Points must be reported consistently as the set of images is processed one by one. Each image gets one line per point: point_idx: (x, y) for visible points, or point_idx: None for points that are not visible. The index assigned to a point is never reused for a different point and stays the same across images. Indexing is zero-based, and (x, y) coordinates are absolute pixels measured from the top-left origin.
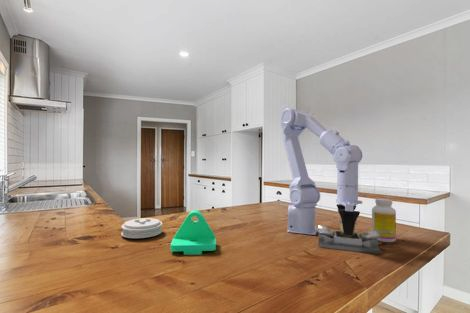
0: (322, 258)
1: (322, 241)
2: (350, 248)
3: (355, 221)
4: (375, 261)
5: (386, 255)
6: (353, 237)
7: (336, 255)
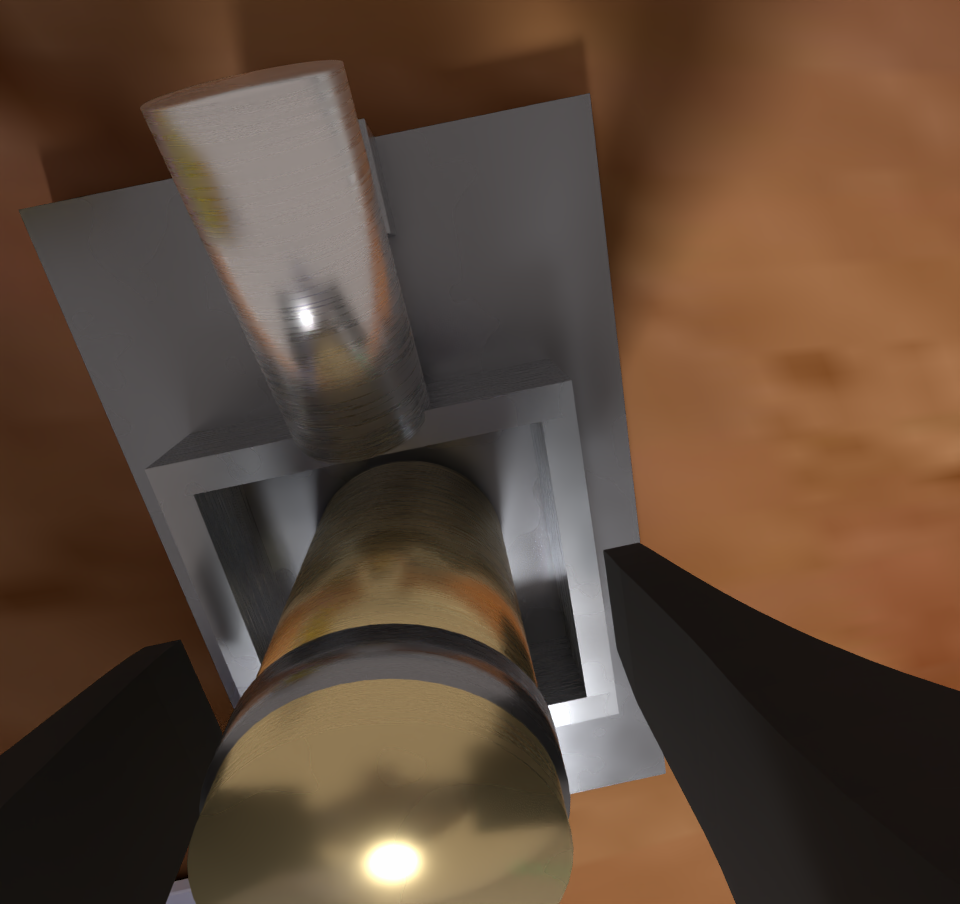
0: (949, 643)
1: (574, 760)
2: (629, 477)
3: (886, 667)
4: (863, 173)
5: (569, 24)
6: (462, 508)
7: (826, 562)
